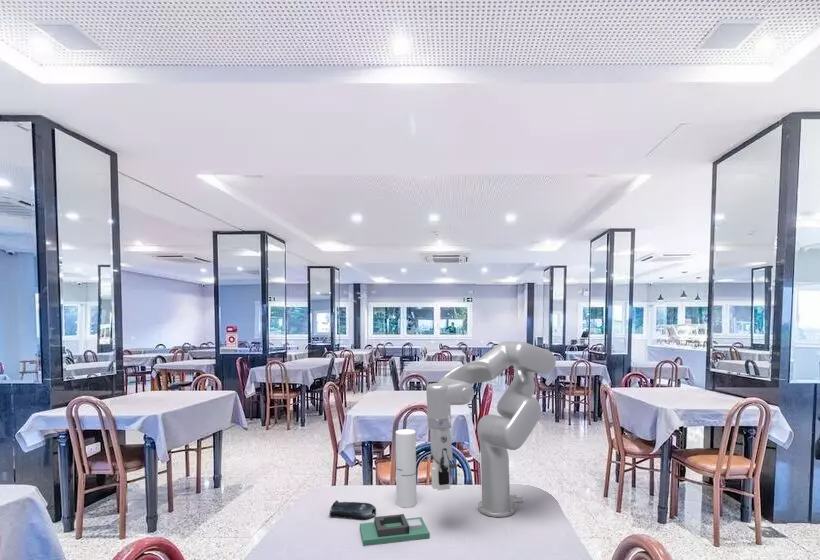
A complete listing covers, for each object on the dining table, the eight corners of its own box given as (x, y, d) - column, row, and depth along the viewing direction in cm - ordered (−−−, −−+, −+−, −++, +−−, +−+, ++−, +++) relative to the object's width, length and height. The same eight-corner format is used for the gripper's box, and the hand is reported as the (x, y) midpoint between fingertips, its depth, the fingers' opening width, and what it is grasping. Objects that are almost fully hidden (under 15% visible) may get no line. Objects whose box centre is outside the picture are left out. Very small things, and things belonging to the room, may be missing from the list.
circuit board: (421, 521, 146) (421, 510, 147) (429, 538, 136) (429, 526, 136) (359, 528, 142) (359, 517, 143) (363, 546, 132) (363, 533, 132)
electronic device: (329, 524, 149) (373, 520, 147) (327, 506, 150) (371, 501, 148) (337, 516, 158) (379, 511, 156) (335, 499, 159) (377, 494, 157)
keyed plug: (454, 481, 147) (453, 456, 147) (459, 487, 142) (458, 461, 142) (430, 484, 145) (429, 459, 146) (434, 490, 140) (433, 464, 141)
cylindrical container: (404, 497, 166) (403, 428, 167) (420, 502, 161) (419, 431, 163) (392, 504, 160) (391, 432, 162) (408, 509, 156) (407, 435, 157)
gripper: (458, 428, 137) (461, 489, 136) (443, 415, 153) (445, 470, 152) (434, 430, 135) (437, 492, 134) (421, 417, 152) (423, 472, 151)
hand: (441, 480), depth 143 cm, fingers closed on keyed plug, 4 cm apart
